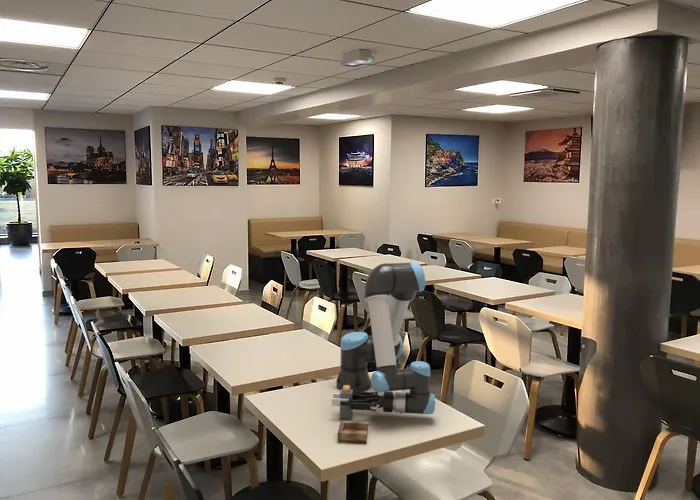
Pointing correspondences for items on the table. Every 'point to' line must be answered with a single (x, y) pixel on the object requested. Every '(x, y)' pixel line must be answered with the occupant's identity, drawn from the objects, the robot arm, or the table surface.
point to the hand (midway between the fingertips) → (332, 399)
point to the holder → (353, 432)
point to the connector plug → (344, 410)
